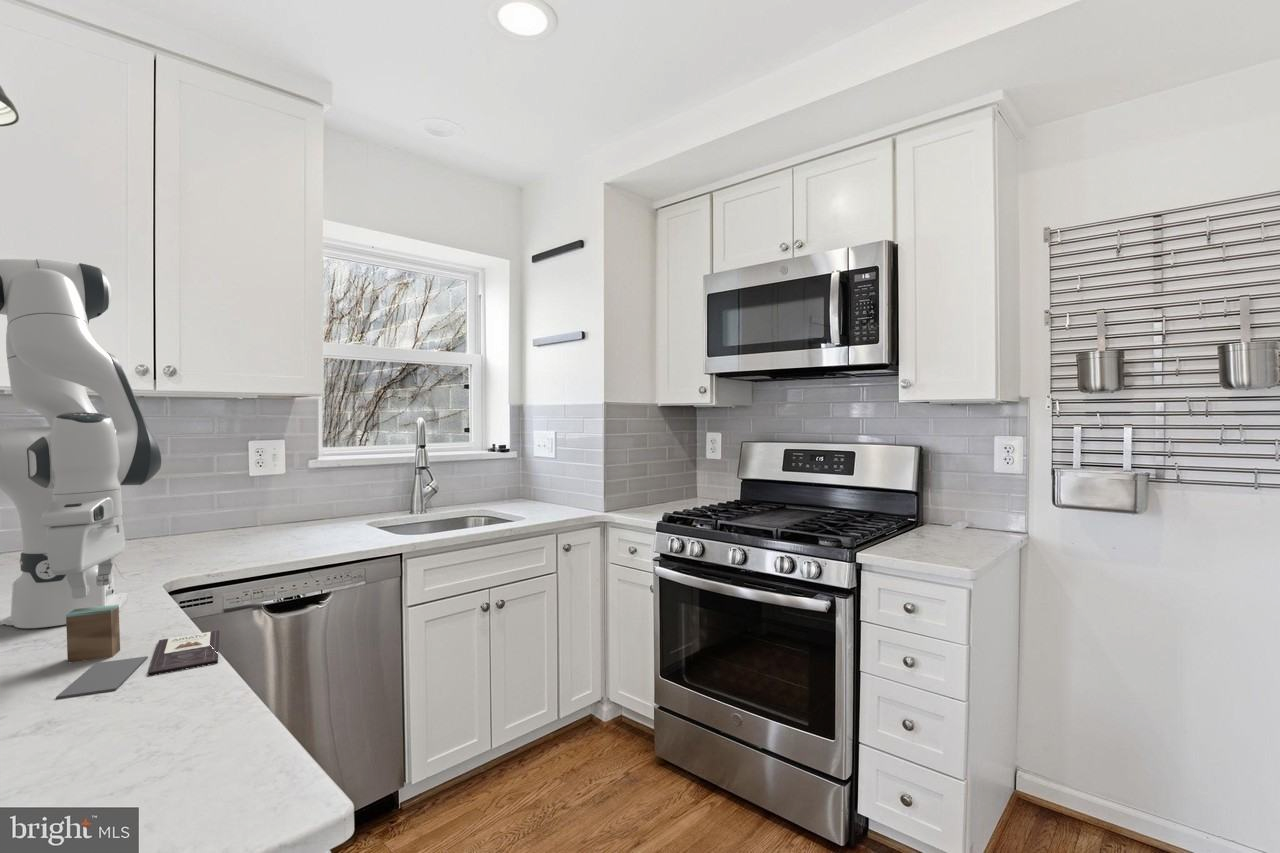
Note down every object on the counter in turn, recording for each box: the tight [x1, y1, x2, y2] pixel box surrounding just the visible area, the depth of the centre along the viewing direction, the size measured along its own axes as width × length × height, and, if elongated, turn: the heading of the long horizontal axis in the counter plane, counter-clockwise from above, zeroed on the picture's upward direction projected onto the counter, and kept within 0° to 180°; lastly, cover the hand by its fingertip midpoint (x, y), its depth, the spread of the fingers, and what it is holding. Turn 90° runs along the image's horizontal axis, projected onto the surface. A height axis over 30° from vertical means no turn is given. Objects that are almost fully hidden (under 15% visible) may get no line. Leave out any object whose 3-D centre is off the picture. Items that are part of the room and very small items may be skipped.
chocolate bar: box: [148, 630, 220, 676], centre depth 111 cm, size 9×1×18 cm
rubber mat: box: [55, 655, 149, 700], centre depth 101 cm, size 14×7×1 cm, turn 22°
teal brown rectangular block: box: [65, 604, 121, 664], centre depth 110 cm, size 4×6×8 cm, turn 112°
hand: (93, 591), depth 109 cm, fingers open, 8 cm apart
